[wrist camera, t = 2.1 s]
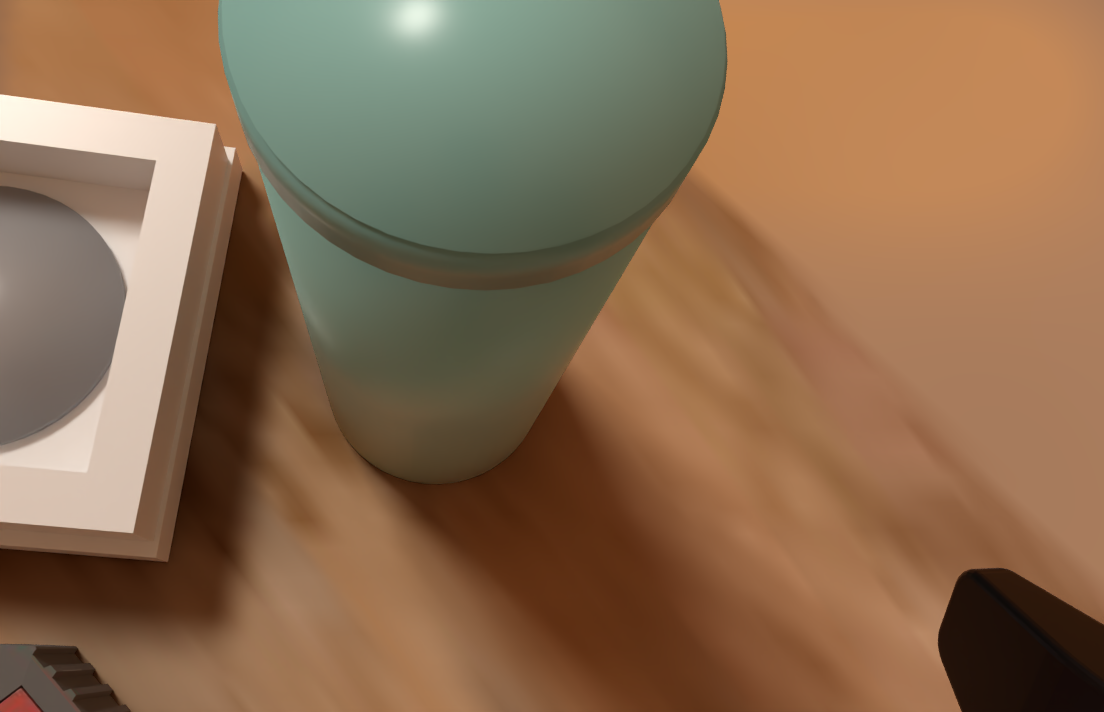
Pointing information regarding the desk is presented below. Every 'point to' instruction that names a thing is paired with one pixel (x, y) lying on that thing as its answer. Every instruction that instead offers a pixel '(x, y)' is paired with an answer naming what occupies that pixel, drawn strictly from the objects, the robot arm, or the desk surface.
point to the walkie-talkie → (50, 681)
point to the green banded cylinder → (464, 193)
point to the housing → (104, 320)
